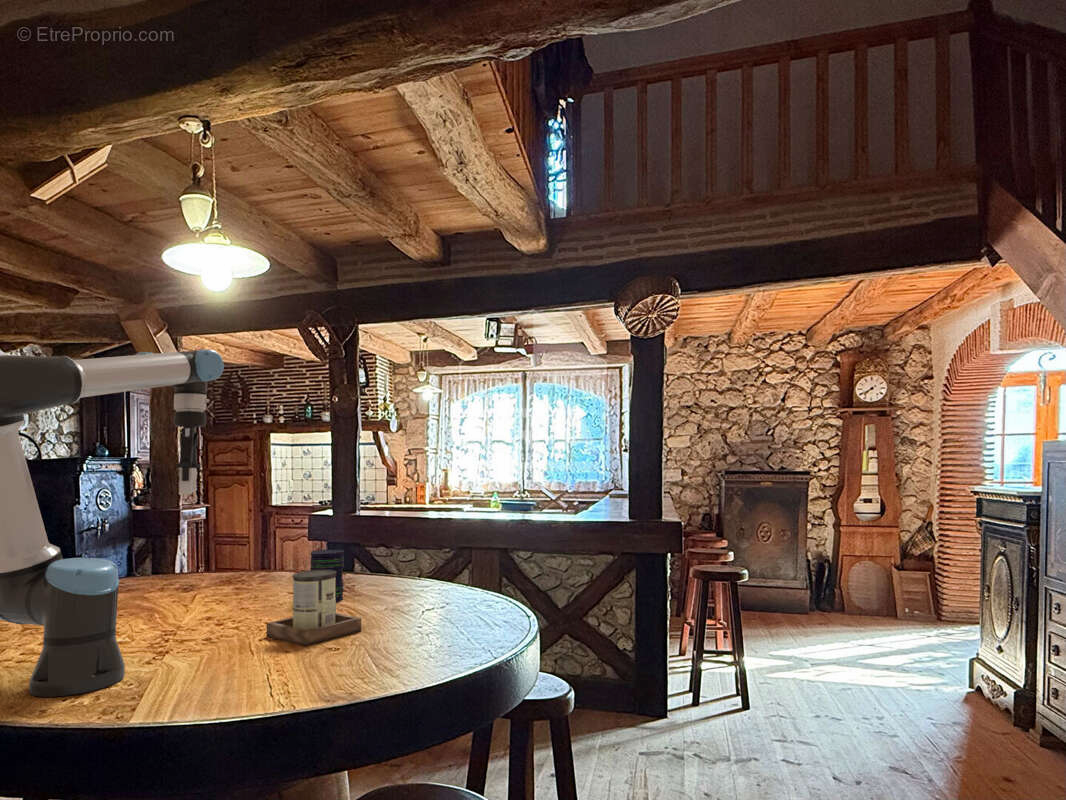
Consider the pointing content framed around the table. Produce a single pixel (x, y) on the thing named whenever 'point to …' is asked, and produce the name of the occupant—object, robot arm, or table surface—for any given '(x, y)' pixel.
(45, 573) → the robot arm
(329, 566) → the dark barrel
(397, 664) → the table surface
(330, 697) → the table surface
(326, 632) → the wooden tray
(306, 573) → the coffee can
